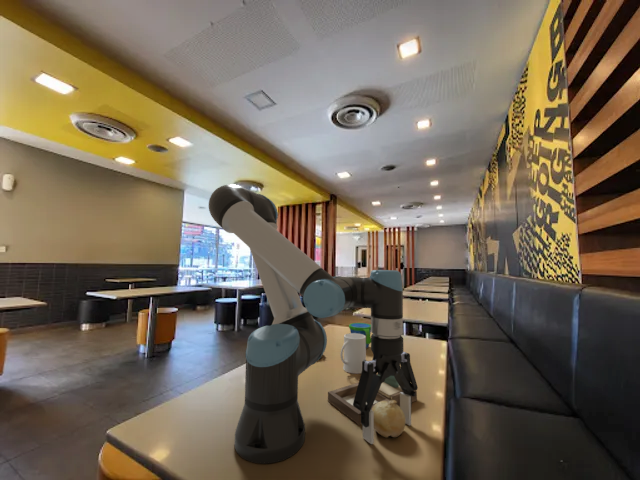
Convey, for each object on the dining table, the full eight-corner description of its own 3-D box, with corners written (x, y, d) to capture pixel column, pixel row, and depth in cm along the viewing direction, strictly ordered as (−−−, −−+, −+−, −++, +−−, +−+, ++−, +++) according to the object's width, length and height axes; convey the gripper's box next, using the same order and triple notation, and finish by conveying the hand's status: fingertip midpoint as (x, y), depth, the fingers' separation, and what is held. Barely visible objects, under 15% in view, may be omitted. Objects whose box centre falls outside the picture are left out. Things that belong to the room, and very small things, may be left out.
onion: (401, 448, 56) (400, 413, 57) (365, 436, 60) (365, 403, 60) (408, 428, 63) (408, 397, 63) (376, 418, 67) (376, 389, 67)
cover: (389, 398, 71) (389, 383, 72) (361, 382, 80) (361, 369, 81) (415, 388, 77) (415, 374, 78) (386, 375, 86) (386, 362, 87)
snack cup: (344, 342, 130) (344, 321, 131) (364, 341, 133) (364, 321, 134) (355, 353, 115) (355, 329, 116) (378, 351, 117) (378, 328, 118)
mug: (347, 378, 90) (348, 342, 91) (331, 370, 97) (332, 336, 98) (371, 370, 97) (371, 336, 98) (354, 363, 104) (354, 331, 105)
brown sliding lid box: (358, 424, 64) (358, 409, 64) (327, 401, 75) (328, 388, 75) (416, 400, 76) (416, 387, 76) (382, 383, 87) (382, 371, 87)
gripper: (359, 346, 54) (359, 461, 52) (431, 331, 67) (433, 422, 65) (337, 338, 60) (336, 439, 58) (406, 325, 73) (408, 408, 71)
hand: (387, 430), depth 61 cm, fingers open, 12 cm apart
